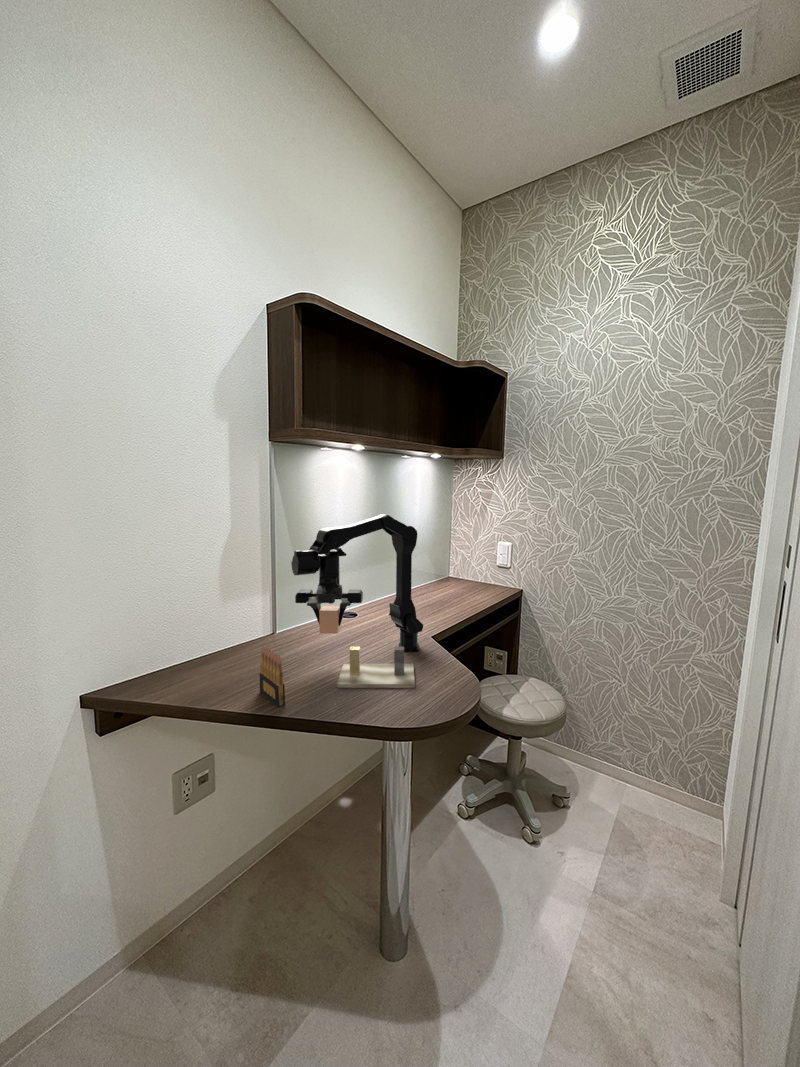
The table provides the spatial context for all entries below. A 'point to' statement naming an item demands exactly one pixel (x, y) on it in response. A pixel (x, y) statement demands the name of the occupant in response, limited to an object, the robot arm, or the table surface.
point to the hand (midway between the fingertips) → (330, 625)
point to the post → (354, 660)
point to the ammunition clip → (272, 678)
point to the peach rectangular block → (329, 619)
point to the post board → (380, 674)
